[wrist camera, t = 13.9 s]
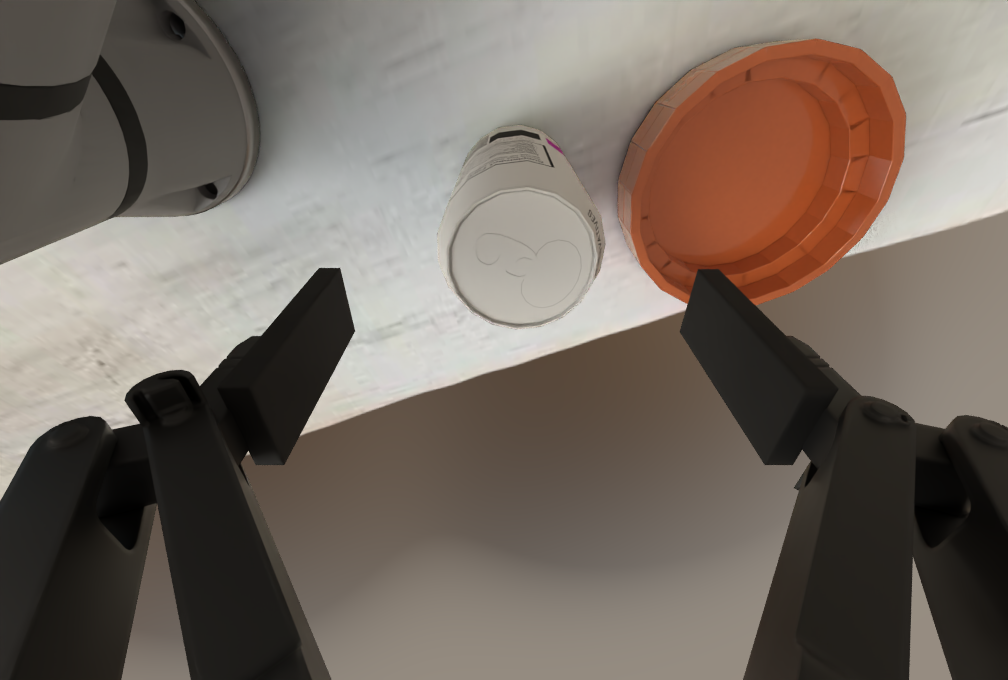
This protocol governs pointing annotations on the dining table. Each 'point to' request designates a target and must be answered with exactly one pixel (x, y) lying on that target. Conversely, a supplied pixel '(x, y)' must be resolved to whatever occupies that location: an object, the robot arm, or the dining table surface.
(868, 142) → the bowl
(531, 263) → the supplement can
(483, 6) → the dining table surface
